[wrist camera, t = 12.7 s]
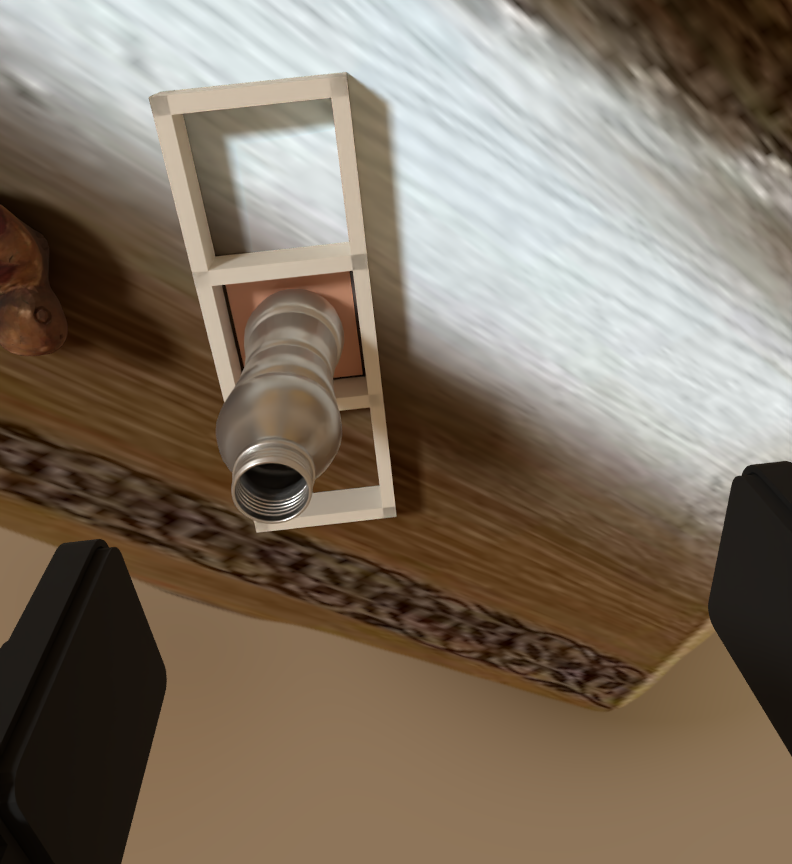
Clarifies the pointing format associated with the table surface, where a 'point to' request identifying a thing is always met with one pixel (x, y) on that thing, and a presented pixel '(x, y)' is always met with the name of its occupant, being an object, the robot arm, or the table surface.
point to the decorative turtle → (27, 292)
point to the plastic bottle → (283, 406)
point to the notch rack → (285, 274)
